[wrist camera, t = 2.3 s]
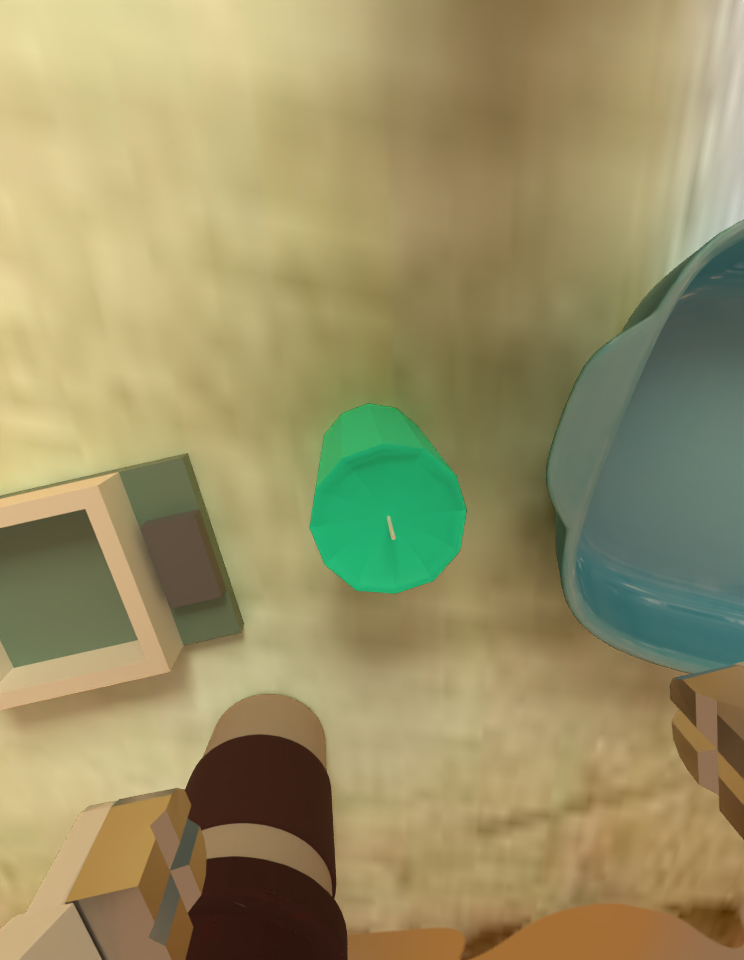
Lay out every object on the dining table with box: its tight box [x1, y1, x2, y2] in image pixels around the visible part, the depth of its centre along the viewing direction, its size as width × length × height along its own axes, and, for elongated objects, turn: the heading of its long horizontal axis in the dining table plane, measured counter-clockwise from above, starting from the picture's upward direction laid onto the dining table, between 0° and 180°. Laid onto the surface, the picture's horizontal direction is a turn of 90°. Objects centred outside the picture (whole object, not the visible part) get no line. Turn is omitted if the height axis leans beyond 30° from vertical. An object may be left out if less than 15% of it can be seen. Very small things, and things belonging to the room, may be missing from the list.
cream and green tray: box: [0, 453, 244, 710], centre depth 29 cm, size 15×11×4 cm
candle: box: [310, 403, 467, 594], centre depth 24 cm, size 6×6×12 cm
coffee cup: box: [185, 694, 347, 960], centre depth 27 cm, size 10×10×15 cm
